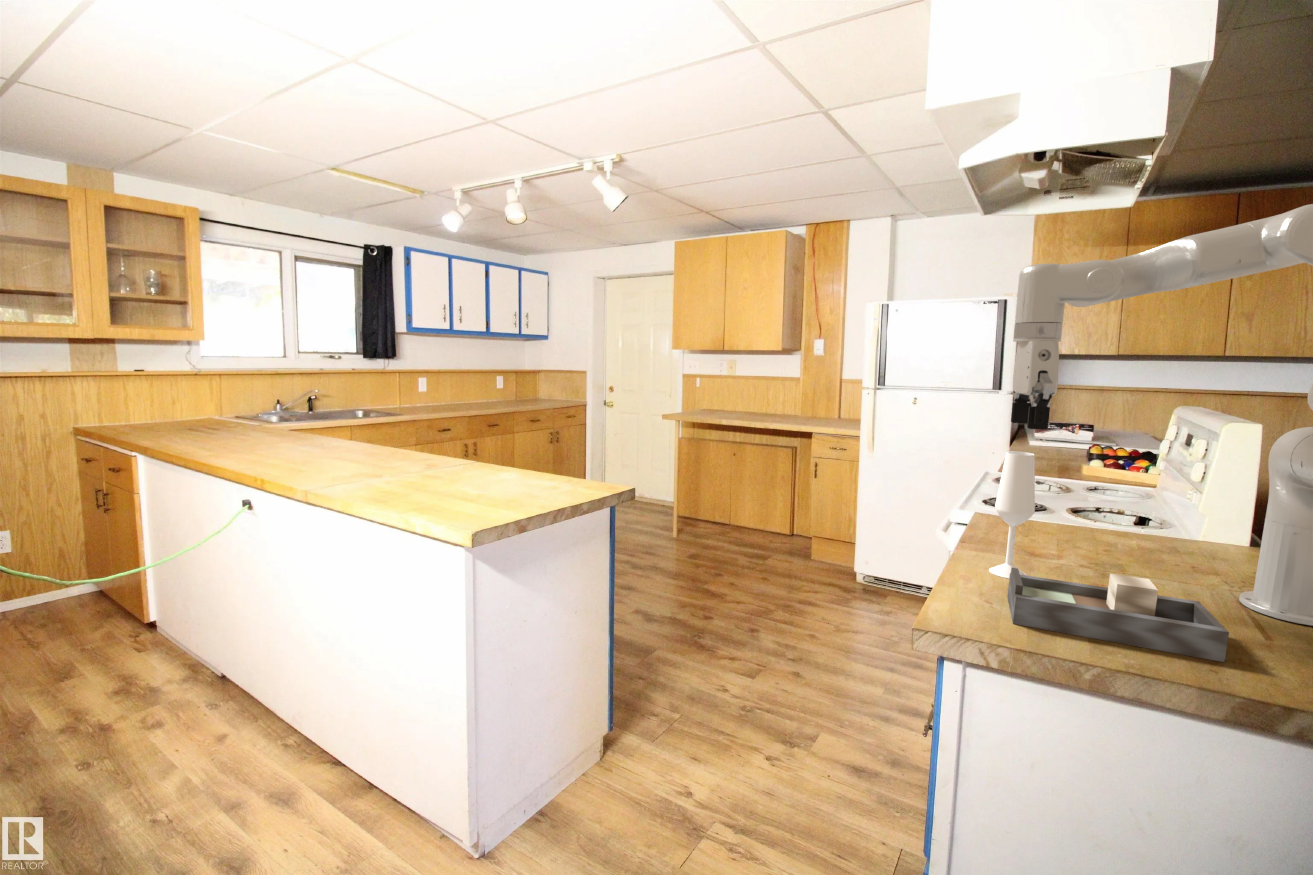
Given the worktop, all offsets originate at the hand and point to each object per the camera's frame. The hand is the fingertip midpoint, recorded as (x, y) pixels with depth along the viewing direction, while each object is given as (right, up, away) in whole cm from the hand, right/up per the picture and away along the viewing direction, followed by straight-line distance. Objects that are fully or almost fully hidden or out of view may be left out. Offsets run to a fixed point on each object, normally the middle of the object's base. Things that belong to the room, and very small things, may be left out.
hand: (1028, 425), depth 114 cm
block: (+4, -30, -19) cm, 35 cm away
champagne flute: (-1, -29, +6) cm, 30 cm away
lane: (+1, -32, -17) cm, 37 cm away
